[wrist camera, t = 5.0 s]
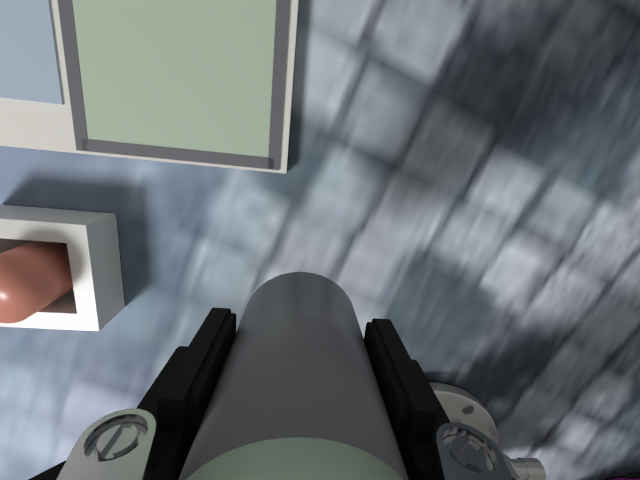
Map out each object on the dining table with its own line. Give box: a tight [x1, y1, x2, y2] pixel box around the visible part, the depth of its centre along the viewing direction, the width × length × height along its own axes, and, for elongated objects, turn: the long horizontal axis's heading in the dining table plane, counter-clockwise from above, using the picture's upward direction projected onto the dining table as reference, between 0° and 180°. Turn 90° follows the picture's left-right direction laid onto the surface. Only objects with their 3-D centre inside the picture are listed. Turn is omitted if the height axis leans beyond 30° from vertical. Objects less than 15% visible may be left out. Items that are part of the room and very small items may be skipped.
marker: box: [179, 272, 409, 480], centre depth 8 cm, size 4×4×9 cm
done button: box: [0, 241, 73, 323], centre depth 15 cm, size 3×3×3 cm
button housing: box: [0, 204, 125, 331], centre depth 17 cm, size 6×6×3 cm
